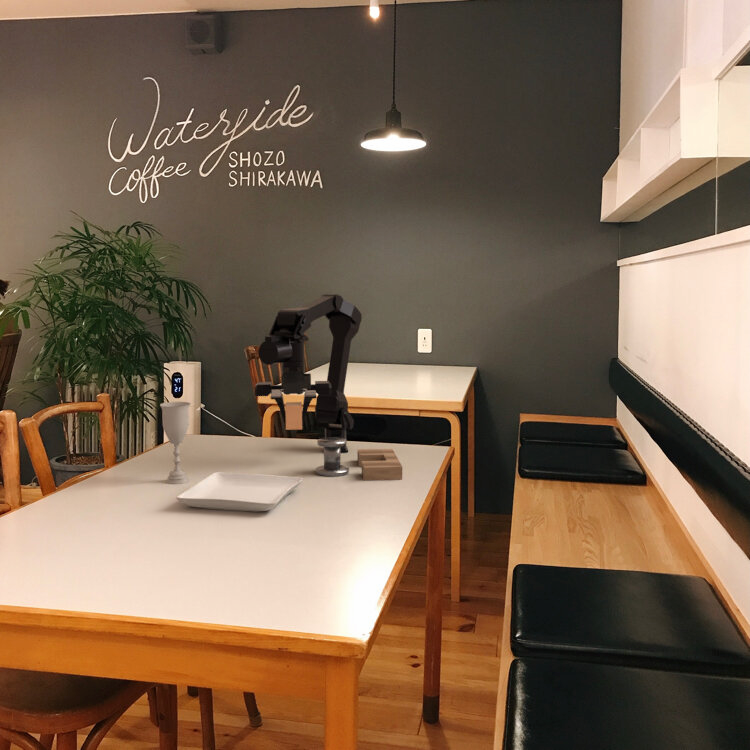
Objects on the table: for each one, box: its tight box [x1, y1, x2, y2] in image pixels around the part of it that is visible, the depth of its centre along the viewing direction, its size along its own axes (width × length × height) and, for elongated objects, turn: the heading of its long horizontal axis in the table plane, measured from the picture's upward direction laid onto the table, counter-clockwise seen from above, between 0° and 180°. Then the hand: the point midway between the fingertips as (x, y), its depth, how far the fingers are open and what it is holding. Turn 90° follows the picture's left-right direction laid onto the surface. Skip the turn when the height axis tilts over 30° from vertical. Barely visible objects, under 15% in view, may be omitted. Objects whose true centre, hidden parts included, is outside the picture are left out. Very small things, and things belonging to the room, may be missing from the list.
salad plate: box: [176, 471, 304, 513], centre depth 174 cm, size 21×21×3 cm
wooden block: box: [284, 401, 303, 431], centre depth 204 cm, size 5×4×6 cm
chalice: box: [159, 401, 191, 485], centre depth 188 cm, size 7×7×18 cm
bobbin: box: [315, 437, 350, 478], centre depth 197 cm, size 8×8×8 cm
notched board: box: [356, 448, 403, 481], centre depth 200 cm, size 20×9×3 cm, turn 6°
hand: (294, 422), depth 204 cm, fingers closed on wooden block, 4 cm apart
